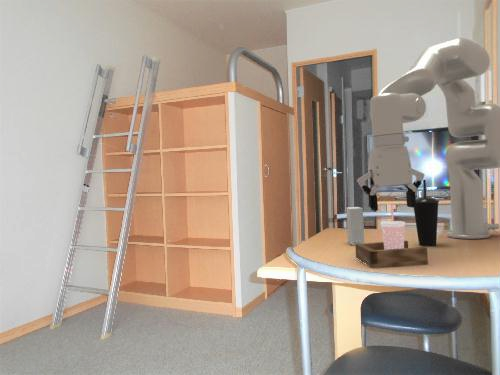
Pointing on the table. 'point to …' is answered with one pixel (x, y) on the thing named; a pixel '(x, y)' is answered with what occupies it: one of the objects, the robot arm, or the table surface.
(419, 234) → the drinking cup
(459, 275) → the table surface
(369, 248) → the dark wooden tray
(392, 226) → the beverage cup
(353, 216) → the skincare box
